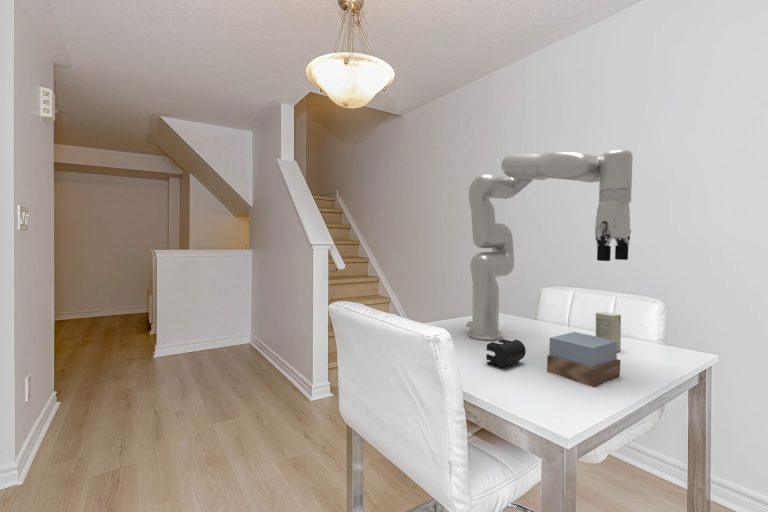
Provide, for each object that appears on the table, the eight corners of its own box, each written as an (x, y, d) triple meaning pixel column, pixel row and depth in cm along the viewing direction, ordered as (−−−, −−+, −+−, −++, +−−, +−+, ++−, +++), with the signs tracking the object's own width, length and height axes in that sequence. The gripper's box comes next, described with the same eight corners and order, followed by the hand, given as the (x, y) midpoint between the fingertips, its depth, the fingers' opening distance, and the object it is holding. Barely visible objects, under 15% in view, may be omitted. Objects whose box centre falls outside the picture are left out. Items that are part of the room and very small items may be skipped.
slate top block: (549, 355, 107) (549, 337, 107) (573, 348, 114) (574, 331, 113) (592, 367, 97) (592, 348, 97) (616, 359, 104) (617, 341, 103)
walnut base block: (547, 373, 107) (547, 355, 107) (573, 364, 114) (573, 348, 114) (593, 388, 96) (594, 369, 96) (619, 378, 104) (620, 360, 103)
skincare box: (621, 351, 126) (622, 314, 125) (611, 353, 124) (612, 315, 124) (603, 346, 132) (604, 311, 131) (594, 347, 130) (595, 312, 130)
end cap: (506, 371, 108) (507, 347, 107) (485, 364, 113) (485, 342, 113) (525, 364, 114) (526, 341, 114) (504, 358, 119) (505, 336, 119)
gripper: (615, 200, 113) (613, 258, 114) (583, 196, 103) (582, 260, 104) (644, 198, 106) (642, 259, 107) (613, 194, 97) (611, 262, 98)
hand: (612, 260), depth 106 cm, fingers open, 9 cm apart
